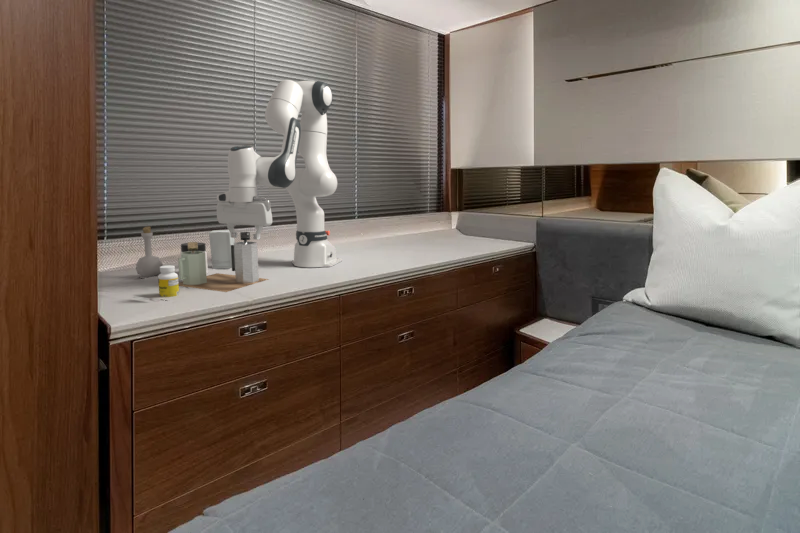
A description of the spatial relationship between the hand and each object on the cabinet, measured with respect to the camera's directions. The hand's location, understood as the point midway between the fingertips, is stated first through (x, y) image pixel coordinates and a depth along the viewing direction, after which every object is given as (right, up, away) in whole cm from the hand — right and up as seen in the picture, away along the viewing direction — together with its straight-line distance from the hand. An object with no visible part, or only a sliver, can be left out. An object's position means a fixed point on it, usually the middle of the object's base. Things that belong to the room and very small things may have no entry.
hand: (245, 238), depth 164 cm
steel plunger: (0, -9, +2) cm, 9 cm away
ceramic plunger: (-17, -11, -1) cm, 20 cm away
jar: (-22, -13, +14) cm, 30 cm away
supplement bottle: (-17, -19, -17) cm, 31 cm away
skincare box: (-18, -10, +32) cm, 38 cm away
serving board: (-8, -16, +1) cm, 18 cm away
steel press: (-1, -14, +3) cm, 15 cm away
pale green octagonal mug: (-17, -15, -1) cm, 23 cm away
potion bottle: (-38, -13, +13) cm, 42 cm away
